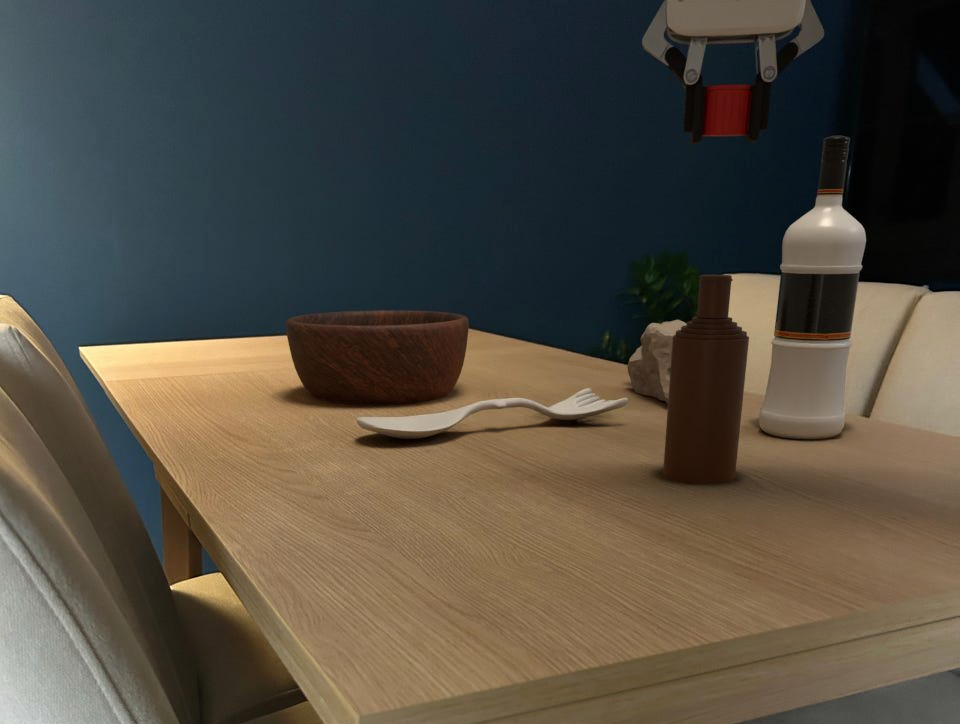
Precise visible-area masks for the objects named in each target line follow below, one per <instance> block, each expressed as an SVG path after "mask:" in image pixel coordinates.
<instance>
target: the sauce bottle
mask: <svg viewBox="0 0 960 724" xmlns="http://www.w3.org/2000/svg"><path fill="white" fill-rule="evenodd" d="M698 279H699V280H698V284H699V286H698V297H697V308H696V309H697V311H696V316H693V317H692V318H691V320H689V321H686V324H687V325H685V326H682V327H681V330H677V331H676V335H673V341H672V355H671V369H670V383H669V398H668V404H667V414H666V427H665V440H664V441H665V442H664V455H663V469H662V476H663V477H664V478H666V479H667V480H670V481H674V482H679V483H684V484H692V485H693V484H695V485H717V484H725V483H730V482H732V481H734V480H735V478H736V472H737V461H738V451H739V443H740V433H741V421H742V414H743V413H742V411H743V404H744V403H743V402H744V391H745V384H746V383H745V382H746V373H747V364H748V363H747V361H748V353H749V352H748V351H749V343H750V337H749V336H748V332H747V331H745V330H743V327H742V326H738V323H737V322H736V321H733V317H729V312H730V303H731V301H730V299H731V289H732V282H733V281H734V280H733V275H731V274H701V275H699V276H698Z"/></svg>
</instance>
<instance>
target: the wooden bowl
mask: <svg viewBox="0 0 960 724" xmlns="http://www.w3.org/2000/svg"><path fill="white" fill-rule="evenodd" d="M469 325H470V320H469V318H468V317H467V316H466V315H463V314H460V313H453V312H447V311H445V312H443V311H431V310H429V311H428V310H400V309H399V310H398V309H397V310H390V309H389V310H388V309H387V310H386V309H385V310H351V311H350V310H349V311H348V310H347V311H332V312H331V311H329V312H318V313H317V312H316V313H310V314H302V315H296V316H292V317H289V318H287V319H286V320H285V326H284V327H285V332H286V338H287V343H288V347H289V352H290V355H291V360H292V363H293V367H294V369H295V372H296V374H297V376H298V378H299V380H300V382H301V384H302V386H303V387H304V389H305V390H306V392H307V393H308V394H309V395H310V396H311V397H313V398H315V399H317V400H321V401H326V402H334V403H343V404H344V403H345V404H362V405H363V404H364V405H365V404H367V405H369V404H370V405H371V404H373V405H374V404H376V405H377V404H400V403H401V404H404V403H412V402H413V403H415V402H422V401H427V400H433V399H438V398H441V397H445V396H446V395H448V394H450V392H451V391H453V390H454V388H455V386H456V384H457V382H458V381H459V378H460V376H461V374H462V373H461V372H462V370H463V367H464V363H465V358H466V354H467V347H468V346H467V345H468V337H469V329H470V326H469Z"/></svg>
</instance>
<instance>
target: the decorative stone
mask: <svg viewBox="0 0 960 724" xmlns="http://www.w3.org/2000/svg"><path fill="white" fill-rule="evenodd" d="M685 325H687V322H685V321H682V320H680V319H675V320H671V321H663V322H662V323H657V322H651V323H650V324H648V325H647V327H646V328H645V330H644V332H643V334H641V336H640V339H639V340H640V344H641V345H640V346H639V347H637V348H636V350H635V352H634V353H633V354H631V356H630V357H629V359H628V363H627V368H626V369H627V373H628V376H629V379H630V385H631V387H632V389H633V390H634V391H635V393H637V394H639V395H645V396H648V397H654V398H656V399H658V400H660V401H661V402H665V403H666V404H667V405H668V398H669V383H670V369H671V355H672V341H673V335H676V331H677V330H681V327H682V326H685Z"/></svg>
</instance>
